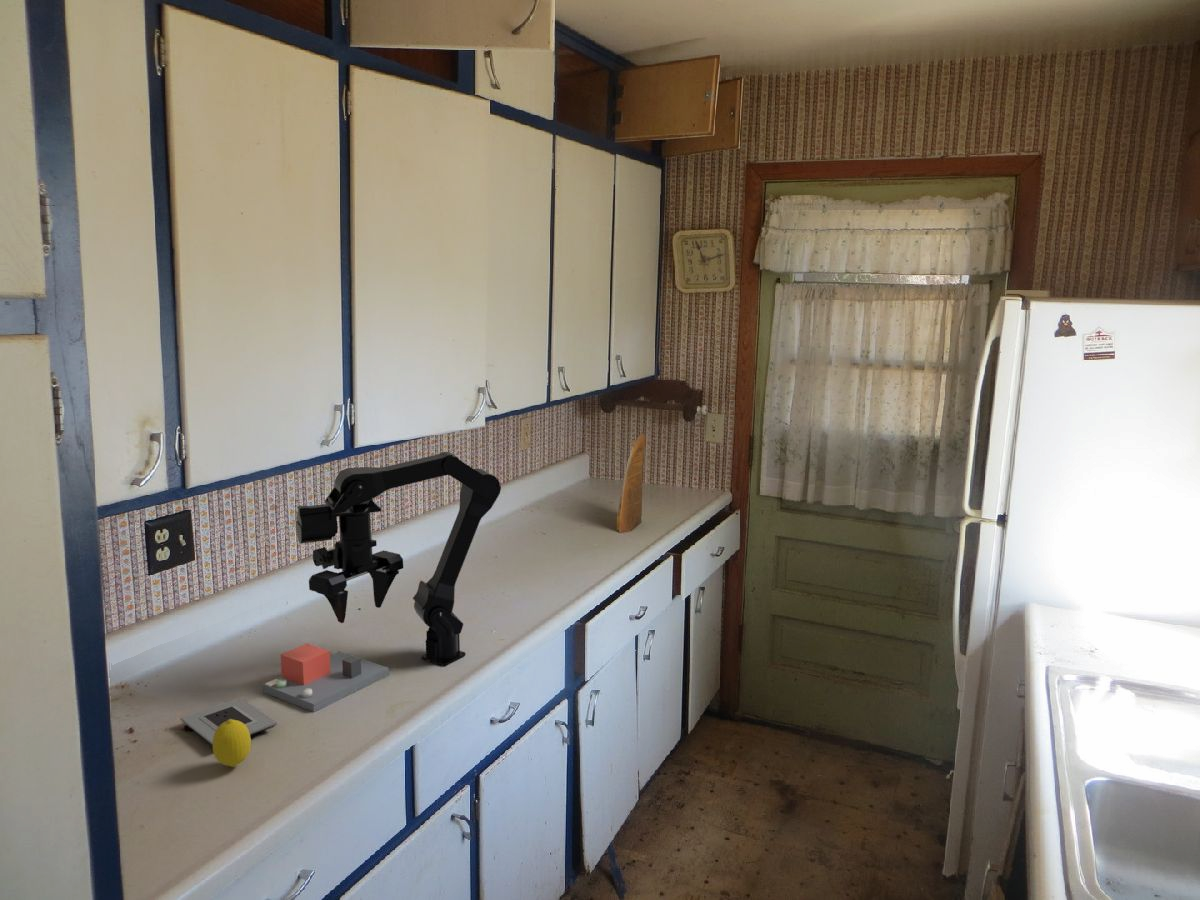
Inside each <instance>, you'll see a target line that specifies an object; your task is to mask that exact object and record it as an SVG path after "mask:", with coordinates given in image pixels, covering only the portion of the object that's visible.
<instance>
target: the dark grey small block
mask: <svg viewBox="0 0 1200 900" xmlns="http://www.w3.org/2000/svg"><path fill="white" fill-rule="evenodd" d="M361 659H362V658H360V657H358V656H355V655H352V656H350V657H348V658H346V659H343V660H342V666H343V675H344V676H347V677H350V678H353V677H355V676H357V675H359V674H361Z"/></svg>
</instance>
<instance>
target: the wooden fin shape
mask: <svg viewBox="0 0 1200 900" xmlns="http://www.w3.org/2000/svg"><path fill="white" fill-rule="evenodd" d="M645 435H646V434H644V433H643V432H642V433H640V434H639V436H638V437H637V439H636V440H635V441H633V442H632V443H631V444H632V445H631V451H630V454H629V457H628V460H627V464H626V466H625V470H624V475H623V481H622V487H621V493H620V500H619V505H618V510H617V511H618V512H617V517H616V531H617V532H619V533H629V532H632V531H633V530H634V529H636V527H638V526H639V525H640V524H641V523H642V515H643V514H642V512H643V509H642V508H643V503H642V502H643V468H644V467H643V466H644V465H643V464H644V455H645V450H646V442H647V441H646V440H647V439H646V436H645Z"/></svg>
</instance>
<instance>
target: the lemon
mask: <svg viewBox="0 0 1200 900" xmlns="http://www.w3.org/2000/svg"><path fill="white" fill-rule="evenodd" d="M251 746H252V739H251V736H250V733H249V730H248V728H247V727H246V725H245V724H244V723H242V722H240V721H238V720H233V719H229V720H228V721H226V722H224V723H222V724H221V725H220V726H219V727H218V728H217V730H216V731H215V734H214V737H213V745H212V752H213V755H214V757H215V759H216V760H217V761H218V763H220V764H221V765H223V766H226V767H227V766H229V767H230V768H235V767H237V765H239V764H241V763H242V762H244V761H245V760H246V758H247V757H248V755H250V752H251V751H250V750H251Z"/></svg>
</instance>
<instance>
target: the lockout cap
mask: <svg viewBox="0 0 1200 900" xmlns="http://www.w3.org/2000/svg"><path fill="white" fill-rule="evenodd" d="M330 655H331V654H330V650H329V649H325V648H323V647H319V646H316V645H314V644H310V643H305V644H303V645H300V646H298V647H295V648H293V649H291V650H289V651H286V652H283V653H280V667H281V668H280V669H281V676H282V677H283V678H286V679H288V680H291V681H294V682H296V683H299V684H302V685H306V684H308V683H310V682H312V681H315V680H317V679H319V678H321V677H323V676H326V675H328V674H330V673H331V672H330Z"/></svg>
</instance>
